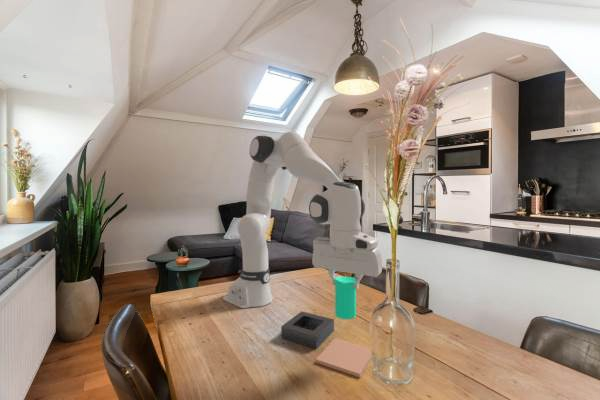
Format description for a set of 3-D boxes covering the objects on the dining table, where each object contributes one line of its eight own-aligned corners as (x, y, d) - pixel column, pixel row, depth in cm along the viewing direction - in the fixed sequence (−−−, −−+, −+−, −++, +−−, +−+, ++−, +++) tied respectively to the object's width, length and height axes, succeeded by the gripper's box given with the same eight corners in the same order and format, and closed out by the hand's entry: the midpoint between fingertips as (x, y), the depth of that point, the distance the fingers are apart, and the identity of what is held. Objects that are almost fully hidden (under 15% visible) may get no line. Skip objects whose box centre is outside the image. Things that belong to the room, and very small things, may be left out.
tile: (316, 362, 82) (315, 359, 82) (334, 341, 93) (334, 338, 93) (360, 377, 75) (360, 373, 75) (374, 352, 87) (374, 349, 87)
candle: (330, 314, 84) (330, 273, 83) (343, 308, 88) (343, 269, 87) (347, 321, 80) (347, 278, 79) (360, 314, 84) (360, 273, 83)
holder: (281, 338, 96) (281, 326, 95) (301, 322, 107) (301, 311, 106) (316, 349, 89) (316, 336, 89) (334, 330, 100) (333, 319, 100)
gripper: (308, 237, 85) (308, 283, 86) (377, 244, 75) (377, 296, 75) (318, 234, 91) (318, 277, 91) (383, 240, 80) (383, 289, 81)
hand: (345, 286), depth 83 cm, fingers closed on candle, 5 cm apart
